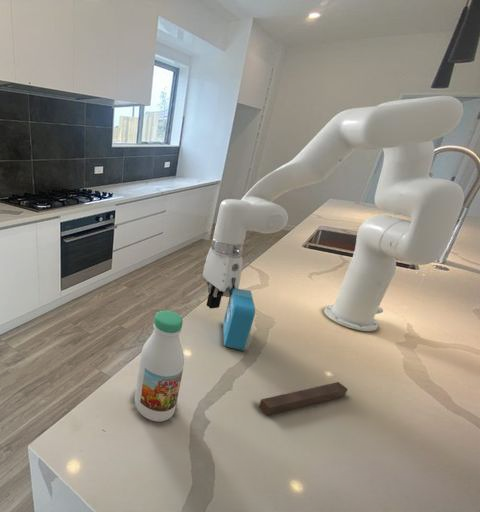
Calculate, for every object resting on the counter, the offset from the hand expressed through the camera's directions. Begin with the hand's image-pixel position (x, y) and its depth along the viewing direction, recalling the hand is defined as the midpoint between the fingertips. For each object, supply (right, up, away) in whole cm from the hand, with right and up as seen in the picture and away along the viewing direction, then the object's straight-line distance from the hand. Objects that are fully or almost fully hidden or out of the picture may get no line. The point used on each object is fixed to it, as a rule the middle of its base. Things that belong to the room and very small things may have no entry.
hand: (212, 306), depth 86 cm
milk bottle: (-22, -14, -28) cm, 39 cm away
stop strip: (+8, -15, -26) cm, 31 cm away
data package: (+3, -7, -7) cm, 10 cm away
